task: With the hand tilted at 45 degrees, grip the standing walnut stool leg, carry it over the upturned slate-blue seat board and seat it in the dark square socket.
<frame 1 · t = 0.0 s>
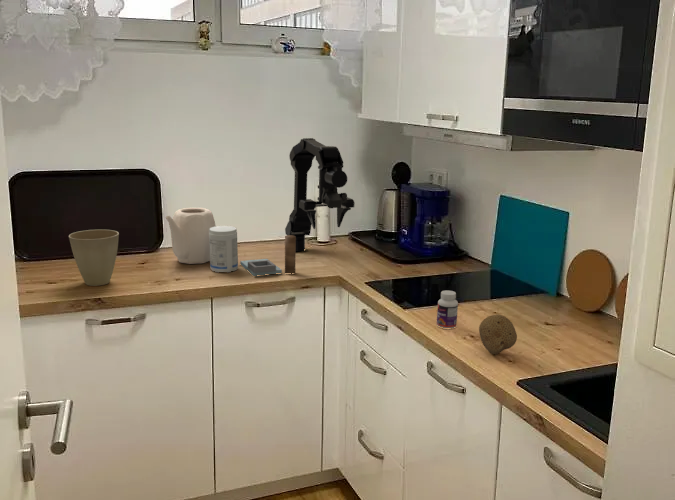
hand: (326, 228, 238), 15 cm above the countertop, tool pointing down, fingers open, 9 cm apart
natural sponge: (496, 354, 168), on the countertop
supplement tub: (224, 270, 237), on the countertop
plant pot: (97, 283, 218), on the countertop
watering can: (192, 262, 246), on the countertop
pill bottle: (446, 327, 186), on the countertop
seat board: (260, 269, 238), on the countertop
stool leg: (290, 273, 234), on the countertop
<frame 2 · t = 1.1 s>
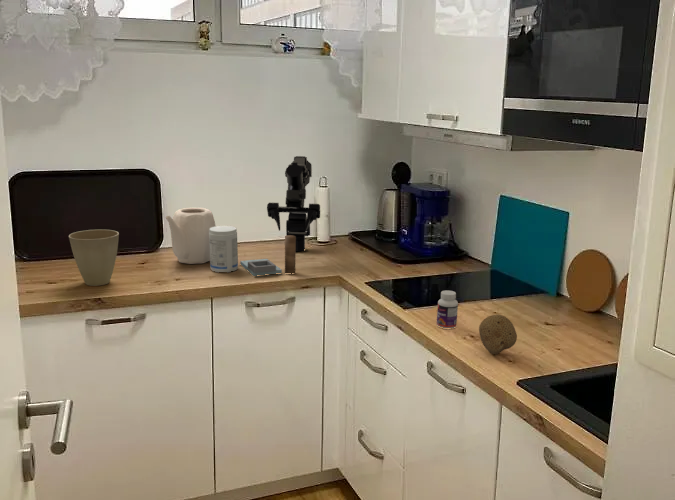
hand: (292, 230, 239), 13 cm above the countertop, tool tilted 45°, fingers open, 9 cm apart
nothing on the countertop moved.
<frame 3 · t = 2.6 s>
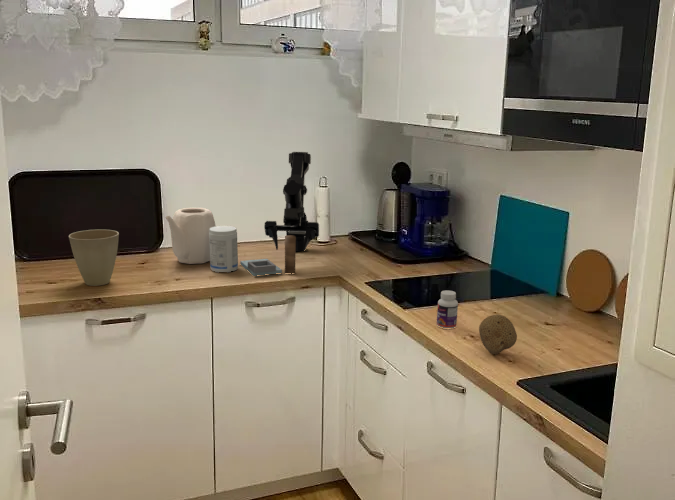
hand: (290, 249, 233), 8 cm above the countertop, tool tilted 45°, fingers open, 9 cm apart
nothing on the countertop moved.
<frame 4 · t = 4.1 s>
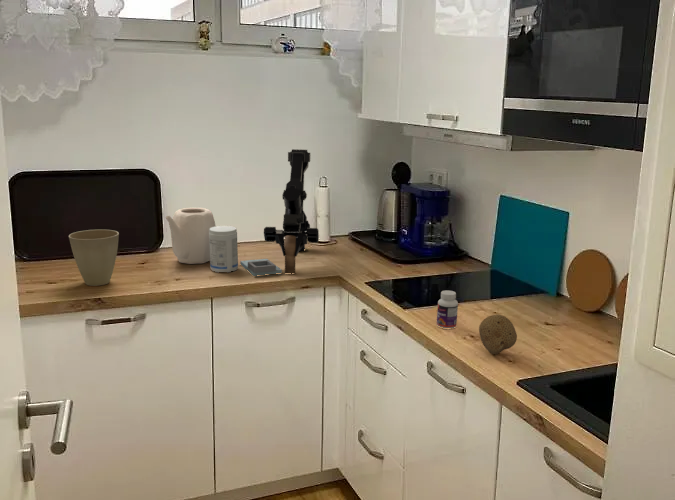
hand: (289, 255, 231), 7 cm above the countertop, tool tilted 45°, fingers closed on stool leg, 4 cm apart
stool leg: (290, 273, 234), on the countertop, touching gripper
everything else where it was.
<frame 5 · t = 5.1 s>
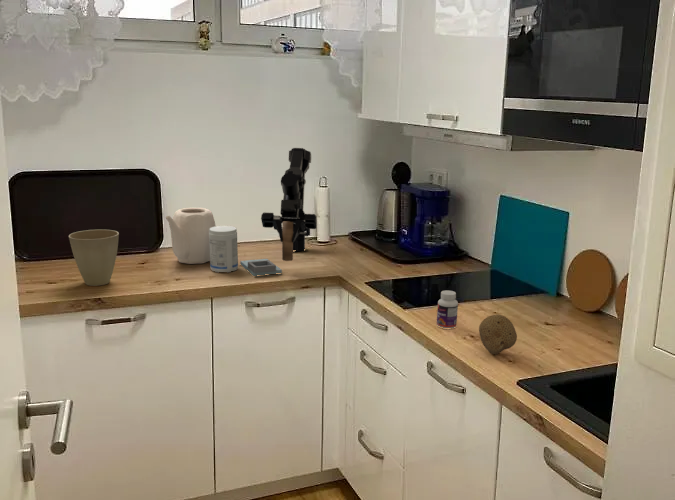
hand: (287, 241, 230), 12 cm above the countertop, tool tilted 45°, fingers closed on stool leg, 4 cm apart
stool leg: (287, 259, 233), point 5 cm above the countertop, touching gripper
everything else where it was.
when the fingers open (9 cm above the countertop, at t = 6.6 s): stool leg stays where it is, resting on seat board.
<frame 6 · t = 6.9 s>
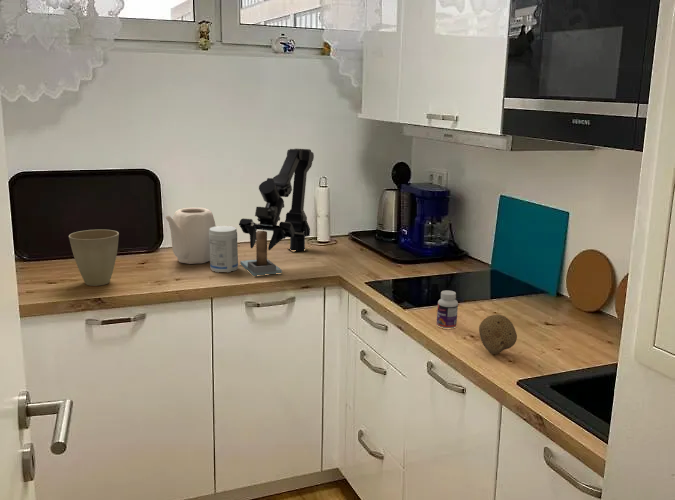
hand: (260, 248, 230), 9 cm above the countertop, tool tilted 45°, fingers open, 6 cm apart
stool leg: (261, 269, 233), point 2 cm above the countertop, touching seat board
everything else where it was.
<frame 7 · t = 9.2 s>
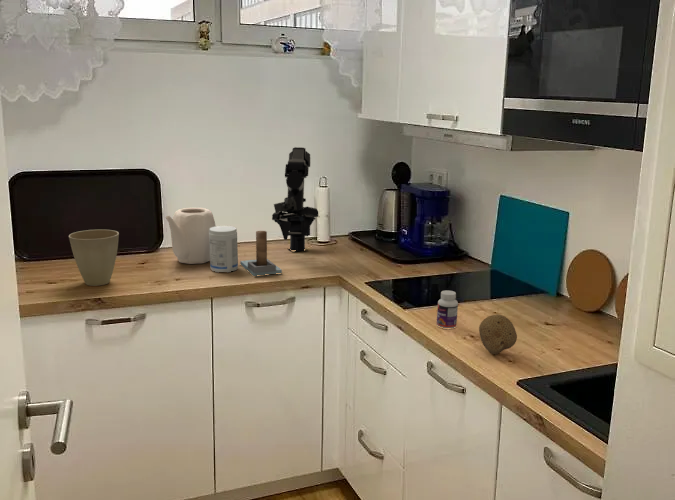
hand: (294, 238, 242), 10 cm above the countertop, tool tilted 20°, fingers open, 9 cm apart
nothing on the countertop moved.
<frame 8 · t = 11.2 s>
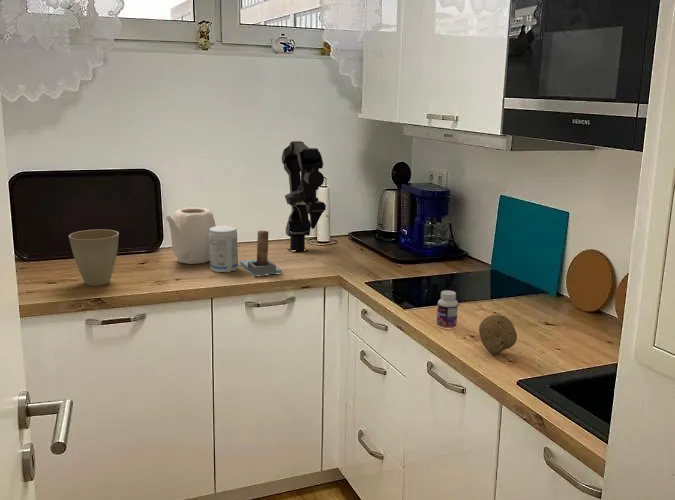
hand: (308, 226, 248), 13 cm above the countertop, tool pointing down, fingers open, 9 cm apart
nothing on the countertop moved.
at the end: stool leg 0.0 cm from the target spot on the seat board, point 1.6 cm above the seat board's base; stool leg tilted 2°; the gripper is holding nothing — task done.
